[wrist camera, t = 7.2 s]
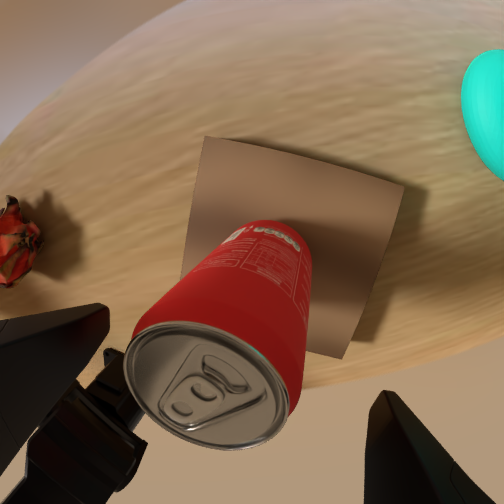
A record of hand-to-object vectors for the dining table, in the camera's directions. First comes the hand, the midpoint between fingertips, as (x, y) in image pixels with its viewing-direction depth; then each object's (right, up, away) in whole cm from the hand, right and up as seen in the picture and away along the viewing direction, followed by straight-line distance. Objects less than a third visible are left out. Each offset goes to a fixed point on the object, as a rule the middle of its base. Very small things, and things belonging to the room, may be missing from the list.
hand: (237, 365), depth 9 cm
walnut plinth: (+3, +4, +12) cm, 13 cm away
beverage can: (+1, +3, +10) cm, 11 cm away
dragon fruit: (-24, +5, +18) cm, 30 cm away
